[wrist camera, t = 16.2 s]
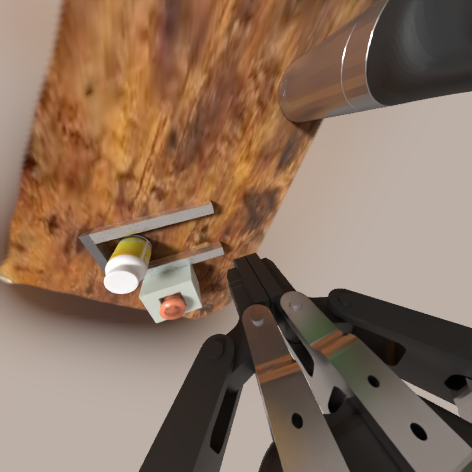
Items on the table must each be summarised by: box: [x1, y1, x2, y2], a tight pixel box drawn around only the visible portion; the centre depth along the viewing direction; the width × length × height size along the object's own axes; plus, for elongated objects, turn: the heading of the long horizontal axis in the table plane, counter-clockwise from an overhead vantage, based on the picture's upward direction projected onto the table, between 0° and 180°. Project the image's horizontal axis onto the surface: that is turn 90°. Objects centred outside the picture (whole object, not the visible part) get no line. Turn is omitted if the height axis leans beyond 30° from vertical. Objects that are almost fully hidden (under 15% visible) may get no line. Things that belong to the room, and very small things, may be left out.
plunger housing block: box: [139, 264, 202, 323], centre depth 39 cm, size 10×9×8 cm
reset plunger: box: [160, 292, 186, 320], centre depth 35 cm, size 5×5×4 cm
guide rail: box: [79, 200, 224, 279], centre depth 36 cm, size 24×12×3 cm, turn 99°
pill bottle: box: [104, 235, 152, 294], centre depth 31 cm, size 6×6×11 cm
